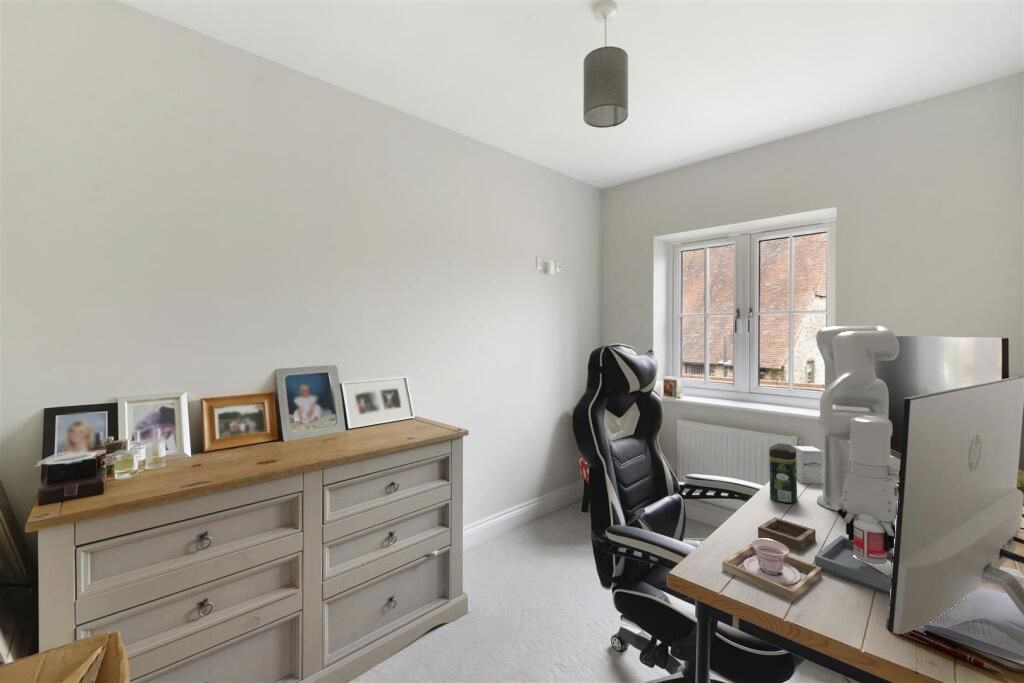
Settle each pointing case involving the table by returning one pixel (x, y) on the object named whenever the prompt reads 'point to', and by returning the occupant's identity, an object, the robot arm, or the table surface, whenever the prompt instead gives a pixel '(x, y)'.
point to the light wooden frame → (767, 584)
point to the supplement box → (809, 464)
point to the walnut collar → (797, 544)
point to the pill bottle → (869, 540)
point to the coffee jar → (783, 473)
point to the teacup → (771, 562)
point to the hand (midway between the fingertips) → (869, 543)
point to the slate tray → (851, 566)
